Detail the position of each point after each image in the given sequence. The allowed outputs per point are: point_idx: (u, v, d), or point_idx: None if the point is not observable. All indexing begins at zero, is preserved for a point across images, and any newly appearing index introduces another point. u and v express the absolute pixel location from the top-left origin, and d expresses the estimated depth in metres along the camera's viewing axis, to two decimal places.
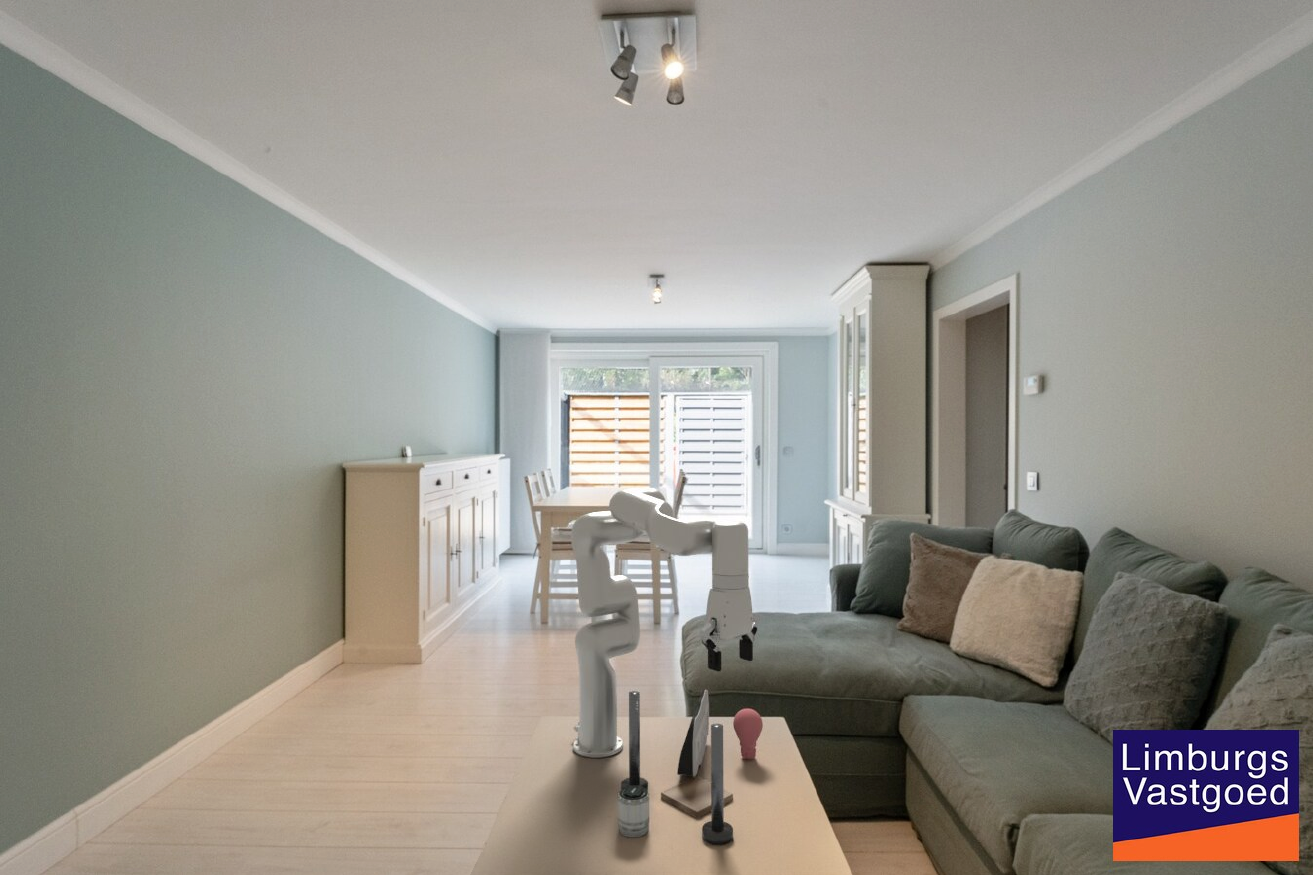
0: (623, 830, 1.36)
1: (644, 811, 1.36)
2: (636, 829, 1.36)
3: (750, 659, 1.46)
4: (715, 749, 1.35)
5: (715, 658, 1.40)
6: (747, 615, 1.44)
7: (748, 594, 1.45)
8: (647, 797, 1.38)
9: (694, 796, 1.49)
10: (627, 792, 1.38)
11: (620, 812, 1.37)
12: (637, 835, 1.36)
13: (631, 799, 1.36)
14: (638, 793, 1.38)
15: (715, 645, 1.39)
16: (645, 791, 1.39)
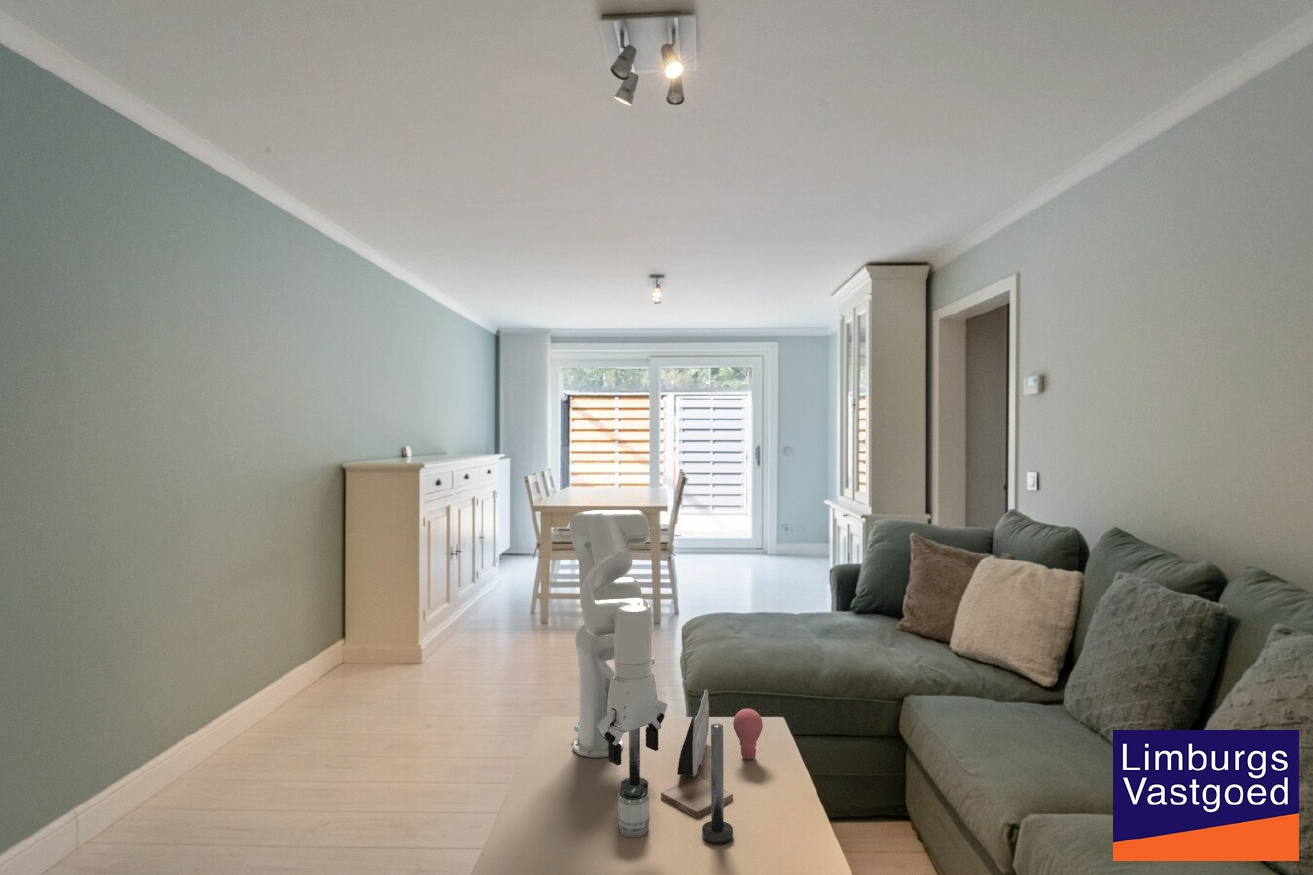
0: (623, 830, 1.36)
1: (644, 811, 1.36)
2: (636, 829, 1.36)
3: (655, 749, 1.40)
4: (715, 749, 1.35)
5: (615, 751, 1.34)
6: (651, 704, 1.39)
7: (652, 681, 1.39)
8: (647, 797, 1.38)
9: (694, 796, 1.49)
10: (627, 792, 1.38)
11: (620, 812, 1.37)
12: (637, 835, 1.36)
13: (631, 799, 1.36)
14: (638, 793, 1.38)
15: (614, 738, 1.34)
16: (645, 791, 1.39)
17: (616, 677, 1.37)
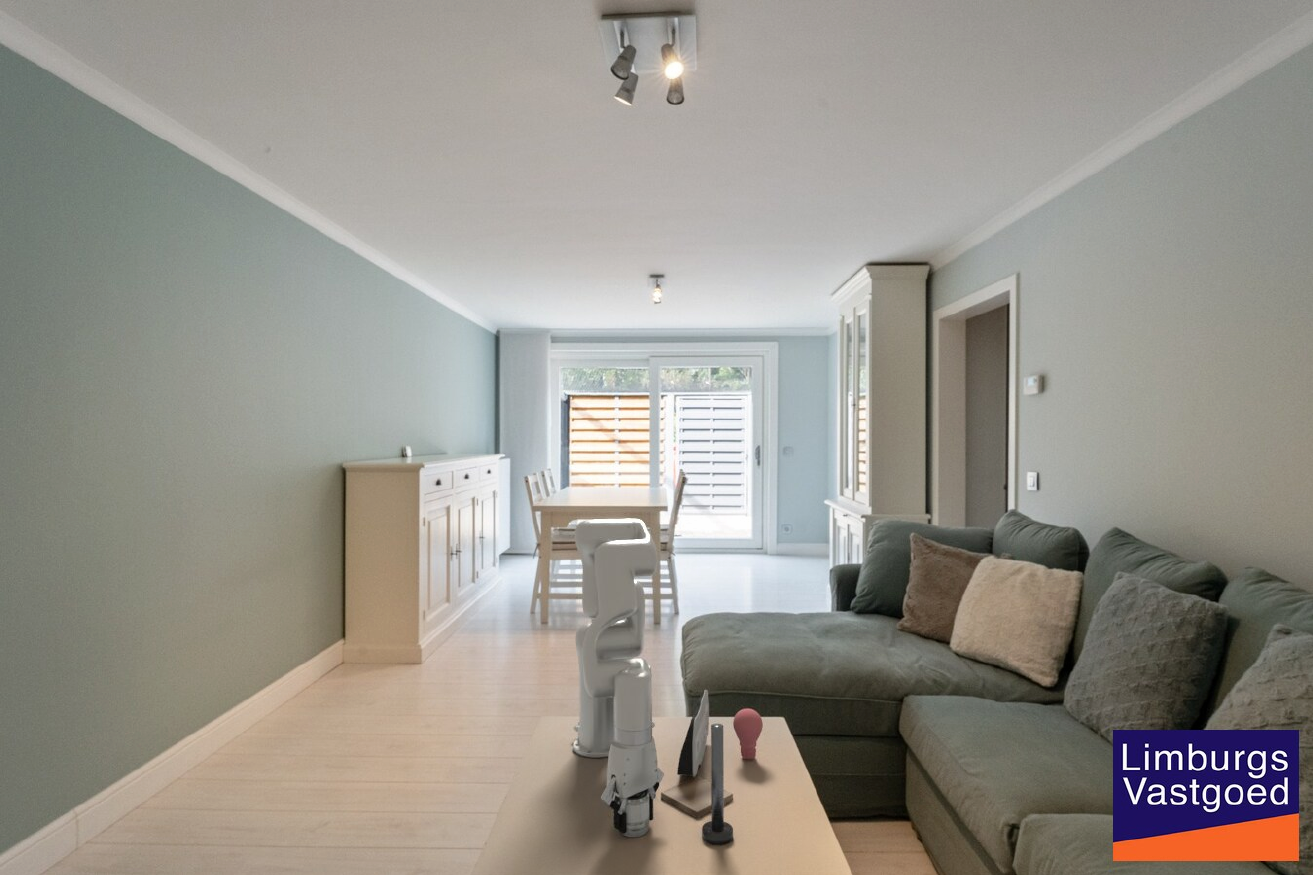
0: None
1: (644, 811, 1.36)
2: (636, 829, 1.36)
3: (650, 818, 1.40)
4: (715, 749, 1.35)
5: (620, 820, 1.35)
6: (651, 768, 1.39)
7: (652, 746, 1.39)
8: (647, 797, 1.38)
9: (694, 796, 1.49)
10: None
11: None
12: (637, 835, 1.36)
13: (631, 799, 1.36)
14: (638, 793, 1.38)
15: (619, 807, 1.35)
16: (645, 791, 1.39)
17: (616, 743, 1.37)
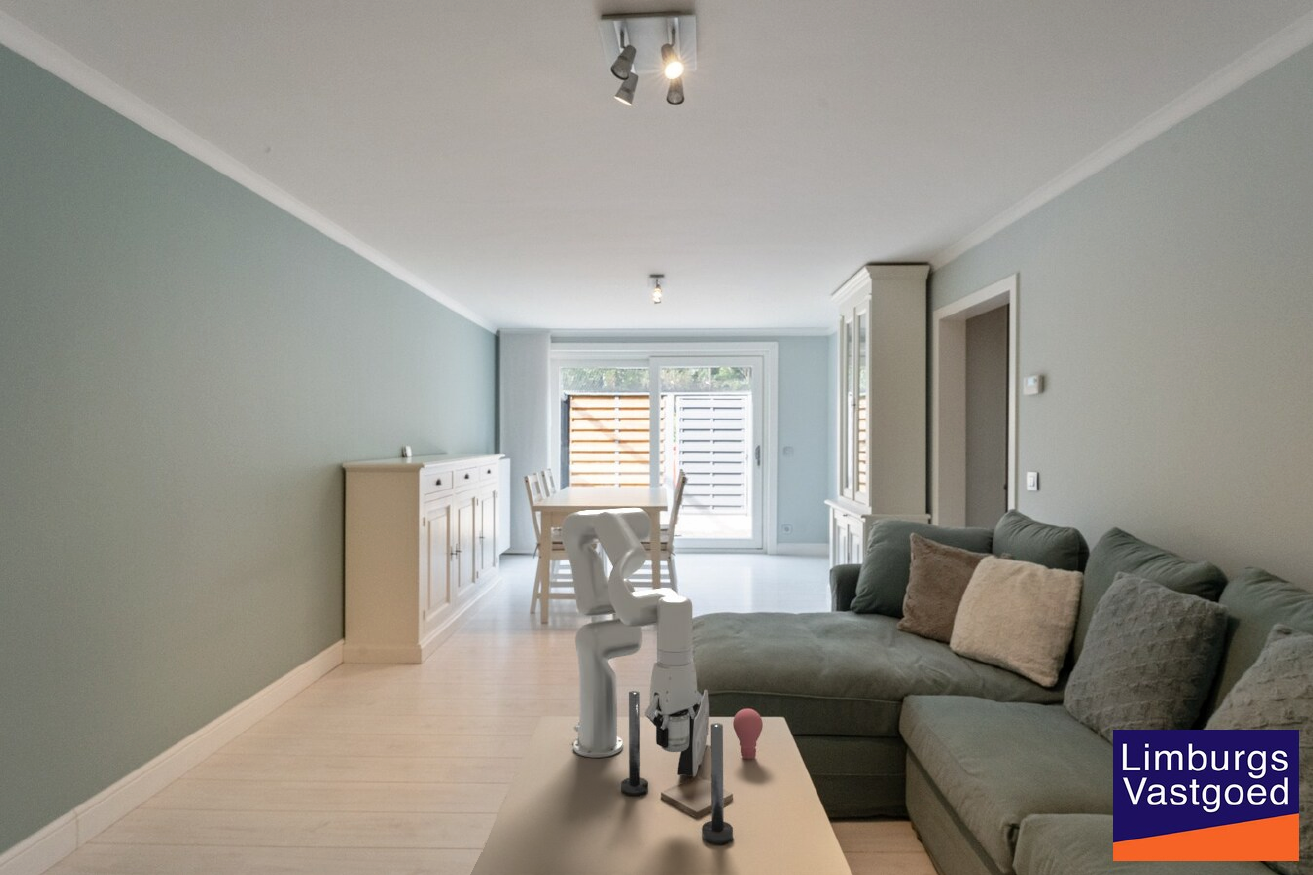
0: None
1: (684, 727, 1.45)
2: (677, 745, 1.44)
3: (690, 736, 1.48)
4: (714, 748, 1.35)
5: (662, 735, 1.44)
6: (691, 689, 1.47)
7: (692, 668, 1.47)
8: (688, 715, 1.46)
9: (694, 796, 1.49)
10: None
11: None
12: (678, 750, 1.44)
13: (673, 716, 1.44)
14: (679, 711, 1.46)
15: (661, 723, 1.43)
16: (685, 710, 1.47)
17: (659, 663, 1.45)
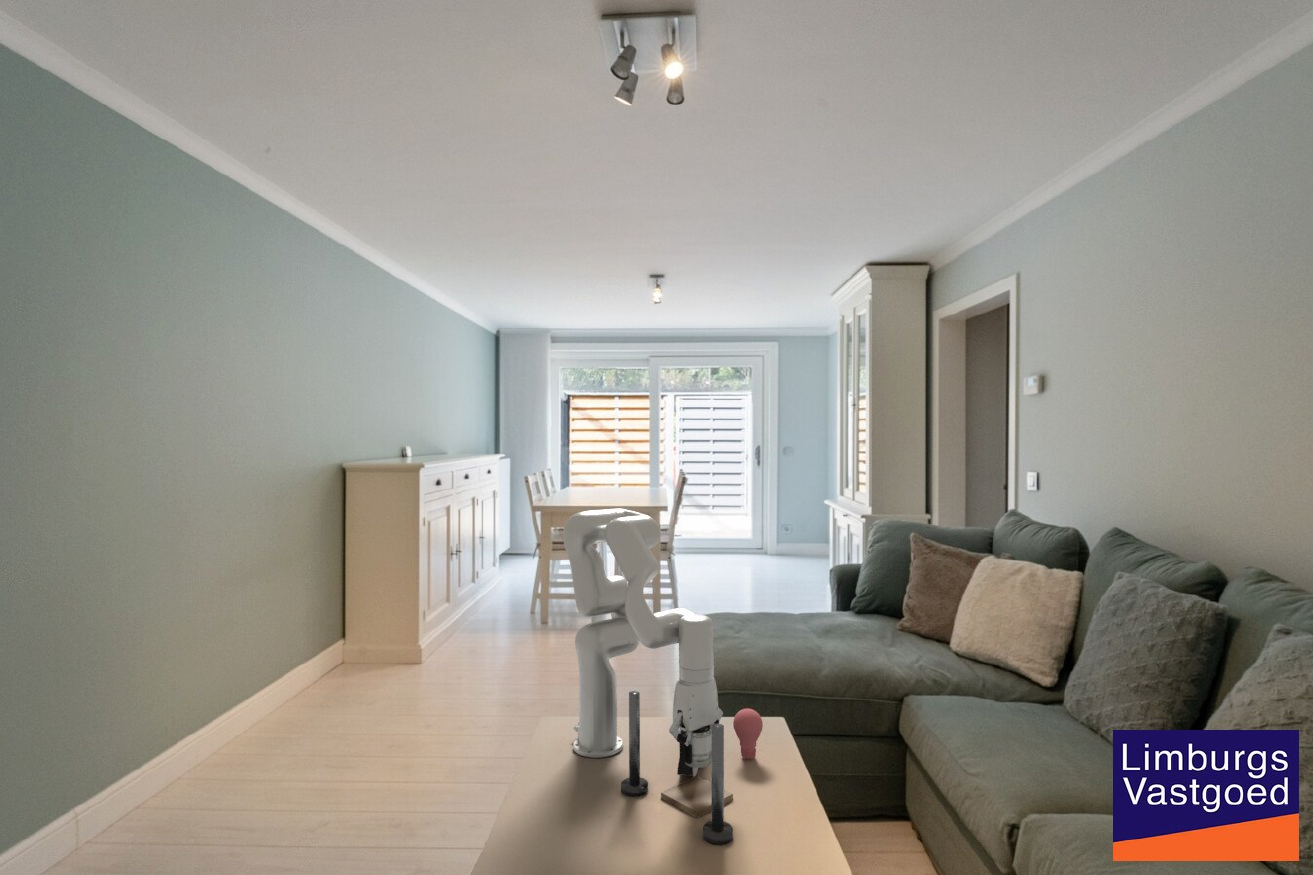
0: None
1: (707, 743, 1.49)
2: (701, 760, 1.48)
3: None
4: (715, 749, 1.35)
5: (686, 751, 1.47)
6: (712, 705, 1.51)
7: (713, 685, 1.52)
8: (710, 731, 1.50)
9: (694, 796, 1.49)
10: None
11: None
12: (702, 766, 1.48)
13: (696, 732, 1.48)
14: (702, 728, 1.50)
15: (685, 740, 1.47)
16: (707, 726, 1.51)
17: (681, 681, 1.49)
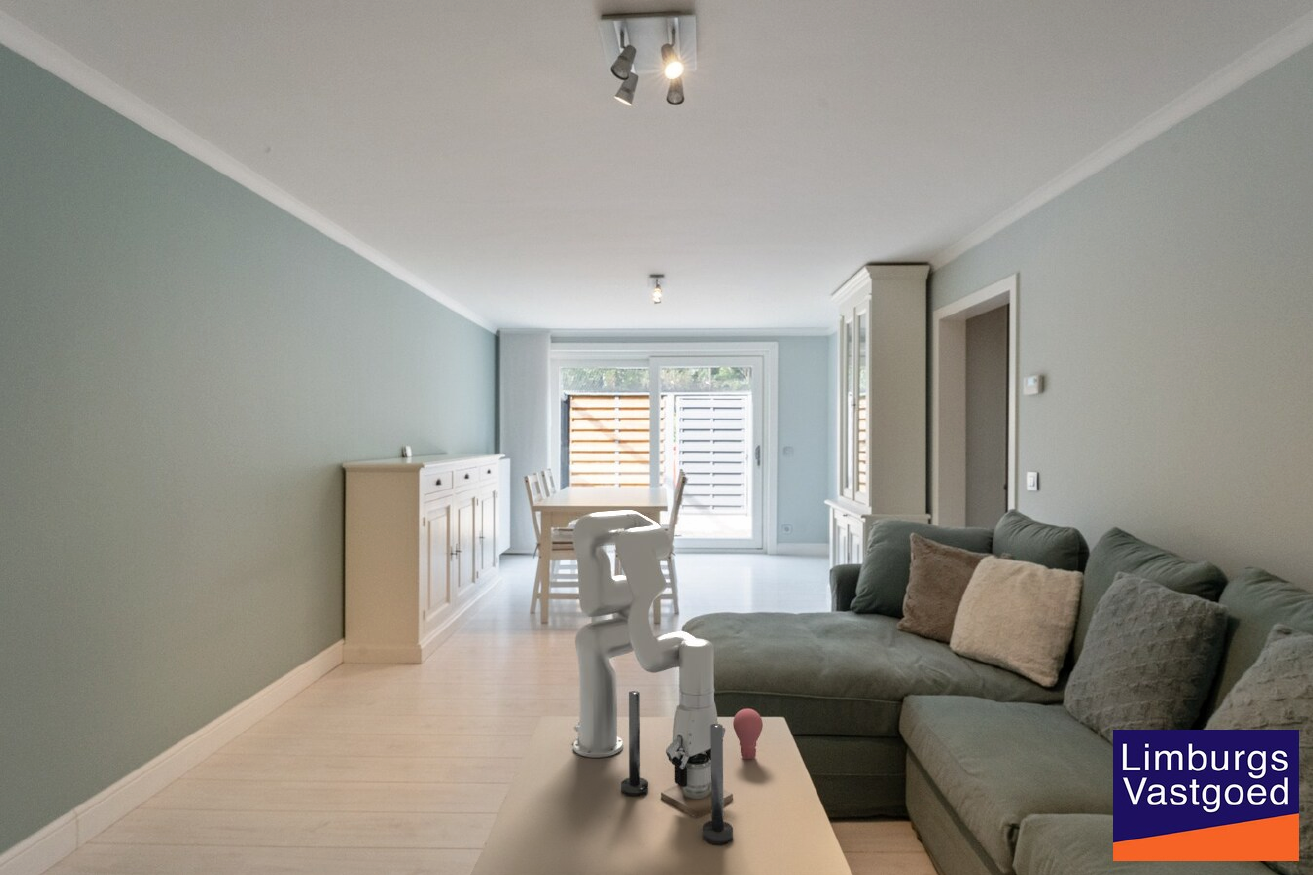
0: (688, 792, 1.49)
1: (706, 775, 1.49)
2: (700, 792, 1.48)
3: None
4: (714, 749, 1.35)
5: (681, 774, 1.47)
6: None
7: (713, 709, 1.52)
8: (709, 762, 1.50)
9: None
10: (690, 758, 1.50)
11: None
12: (700, 797, 1.48)
13: (695, 764, 1.48)
14: (701, 759, 1.50)
15: (681, 762, 1.46)
16: (707, 757, 1.51)
17: (681, 706, 1.49)
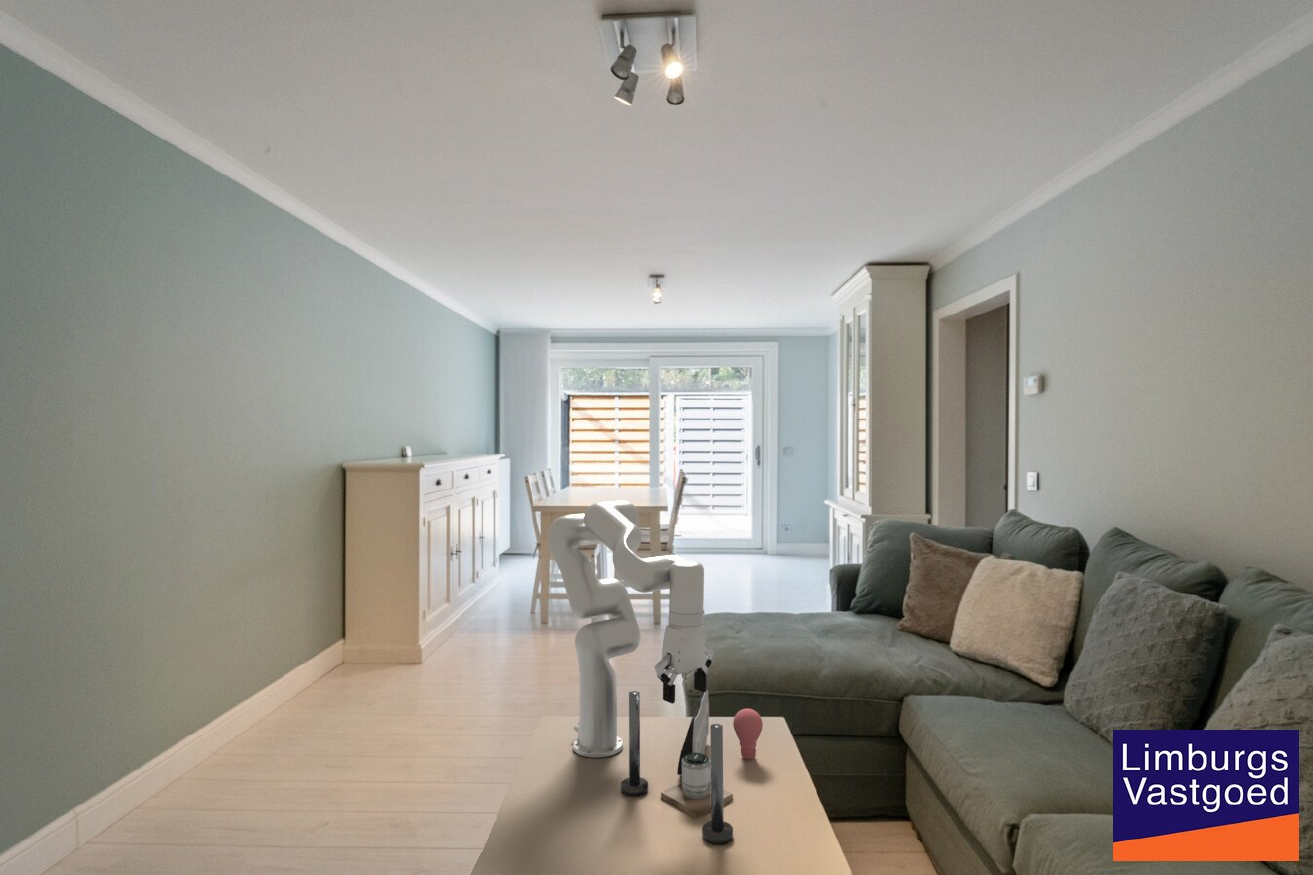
0: (688, 793, 1.49)
1: (706, 775, 1.49)
2: (700, 792, 1.48)
3: (703, 690, 1.55)
4: (714, 749, 1.35)
5: (669, 691, 1.48)
6: (701, 650, 1.53)
7: (703, 630, 1.53)
8: (709, 762, 1.50)
9: None
10: (690, 758, 1.50)
11: (684, 776, 1.49)
12: (700, 797, 1.48)
13: (695, 764, 1.48)
14: (701, 759, 1.50)
15: (669, 679, 1.48)
16: (706, 757, 1.51)
17: (671, 625, 1.51)
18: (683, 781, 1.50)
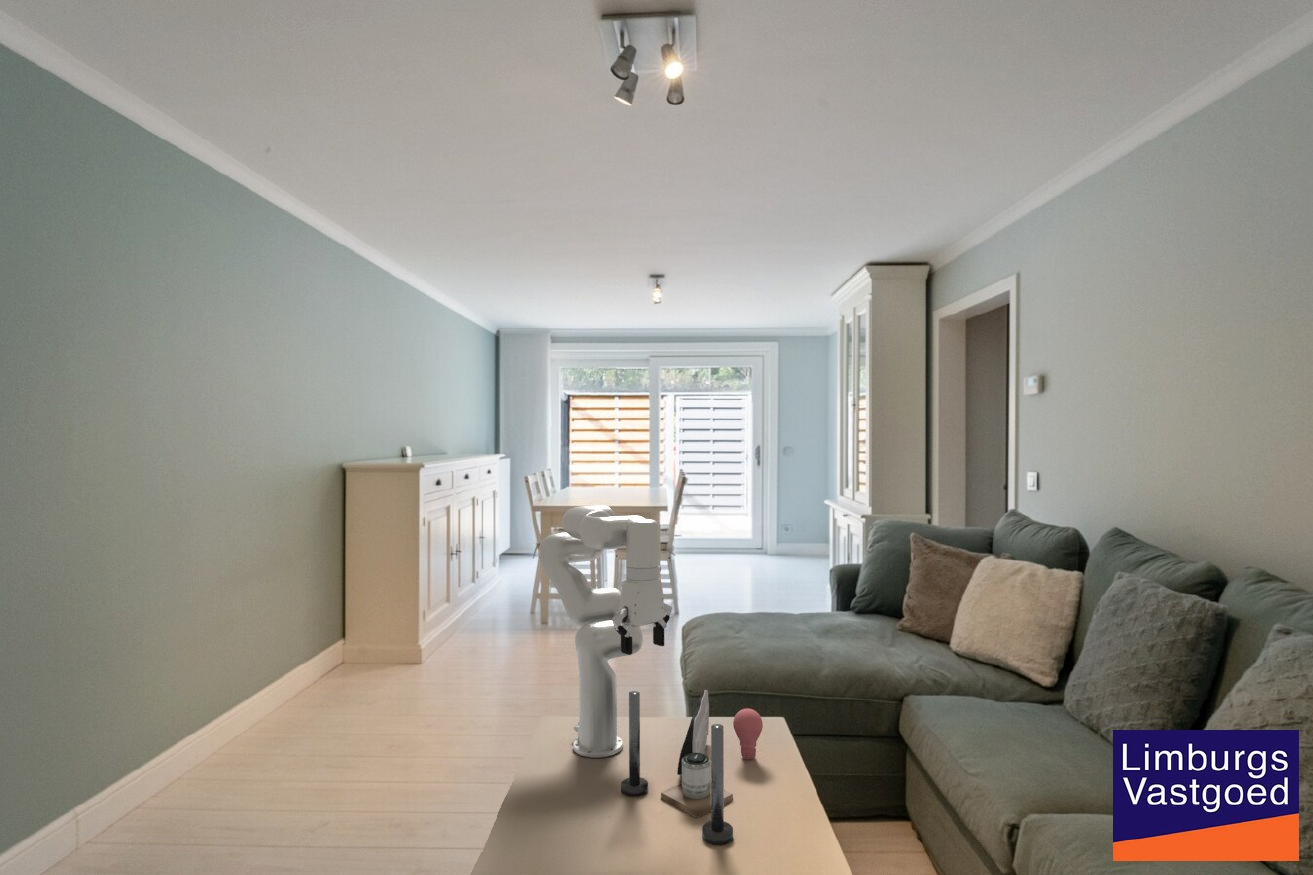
0: (688, 793, 1.49)
1: (706, 775, 1.49)
2: (700, 792, 1.48)
3: (662, 644, 1.60)
4: (715, 749, 1.35)
5: (626, 643, 1.54)
6: (658, 604, 1.58)
7: (659, 585, 1.59)
8: (709, 762, 1.50)
9: None
10: (690, 758, 1.50)
11: (684, 776, 1.49)
12: (700, 797, 1.48)
13: (695, 764, 1.48)
14: (701, 759, 1.50)
15: (626, 631, 1.54)
16: (706, 757, 1.51)
17: (628, 580, 1.57)
18: (683, 781, 1.50)
